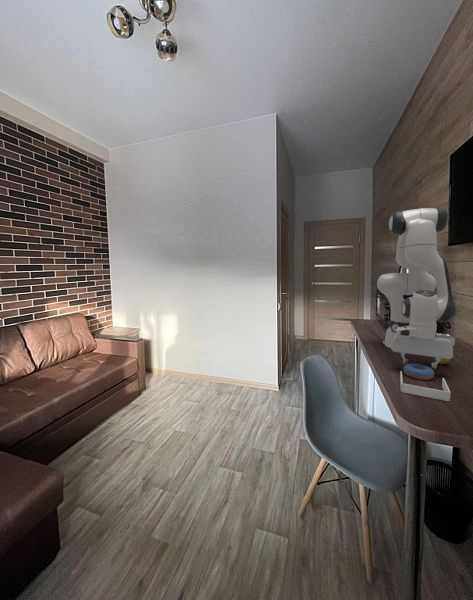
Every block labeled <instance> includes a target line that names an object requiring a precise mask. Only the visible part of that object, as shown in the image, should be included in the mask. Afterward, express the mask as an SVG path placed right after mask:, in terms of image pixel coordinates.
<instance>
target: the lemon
mask: <svg viewBox="0 0 473 600" xmlns="http://www.w3.org/2000/svg"><path fill="white" fill-rule="evenodd" d="M434 360H436V357H434ZM450 360H451V359H444V358H441V361H440V362H439V363H438V364H440V365H443V364H448V362H449V361H450Z"/></svg>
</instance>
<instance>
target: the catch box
mask: <svg viewBox="0 0 473 600" xmlns="http://www.w3.org/2000/svg"><path fill="white" fill-rule="evenodd" d="M399 374H400V375H399V382H400V383H399V385H400V393H405V394H410V395H415V396H420V397H424V398H428V399H429V398H430V399H434V400H441V401H444V402H449V403H450V400H451V391H450V387H449V386H448V384H447V381H446V380H445V378H444V377H442V380H441V381H442V382H441V388H442V390H440V389H436V388H431V387H425V386H418V385H413V384H407V383H404V382H403V381H404V380H403V371H402V370H400V373H399Z"/></svg>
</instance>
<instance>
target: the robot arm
mask: <svg viewBox="0 0 473 600" xmlns="http://www.w3.org/2000/svg"><path fill="white" fill-rule="evenodd" d="M448 222H449V214H448V211H447V210H446V208H442V207H435V208H432V207H425V208H424V207H423V208H421V207H420V208H415V209H408V210H398V211H395V212H393V213H392V214H391V215H390V218H389V221H388V228H389V231H390V233H391V234H392V235H397V236H398V239H397V244H396V254H395V262H396V264H397V265H399V266H401V267H402V268H404V269H407V270H408V271H407V272H392V273H391V272H389V273H386V274H385V273H384V274H381V275H380V276H379V277H378V279H377V282H376V286H377V289H378V291H379V292H381V294H383V295H384V296H385V298H387V299H388V302H389V305H390V306H389V307H390V319H389V321H388V328H387V329H386V332H385V337H384V340H383V341H382V344H384V346H385V347H386V348H389V349H391V351H392V352H393V353H394V352H395V353H400V356H401V358H402V359H403V360H402V364H404V365H407V364H409V363H408V362H409V359H408V358H406V357H405V356H406V354H408V355H417V356H424V357H430V358H435V357H436V359H435V361H434V362H431V367H430V368H431V369H437V365H438V364H440V363H439V362H440V361H441V358H444V359H450V360H452V359H453V358H454V346H455V344H456V338H455V337H454V336H452V335H451V334H447V333H446V334H445V333H437V325H438V324H437V322H438V323H448V322H449V321H451V320H453V319H454V318H455V317H456V314H457V309H456V304H455V300H454V297H453V292H452V291H453V290H452V284H451V279H450V272H449V267H448V264H447V262H446V260H445V259H444V258H442V257H441V255H439V252H438V247H437V246H438V235H437V233H439V232H441V231H443V230H444V229H446V227H447V224H448ZM435 290H436V291H437V292H435ZM404 295H411V296H410V297H406V298H405V299H404Z"/></svg>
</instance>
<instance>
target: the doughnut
mask: <svg viewBox="0 0 473 600" xmlns="http://www.w3.org/2000/svg"><path fill="white" fill-rule="evenodd" d="M403 373H404V374H405V375H406V376H407V377H410V378H412V379H415V380H420V381H430V380H432V379H433V378H434V376H435V371H434V369H433V368H432V367H430V366H428V365H424V364H421V363H408V364H404V366H403Z"/></svg>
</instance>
